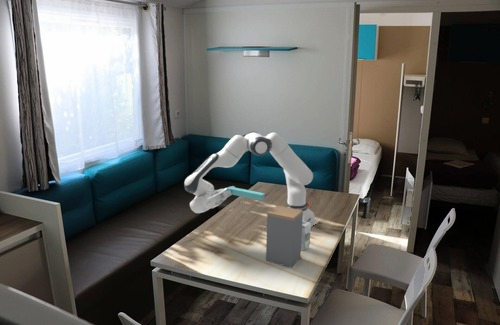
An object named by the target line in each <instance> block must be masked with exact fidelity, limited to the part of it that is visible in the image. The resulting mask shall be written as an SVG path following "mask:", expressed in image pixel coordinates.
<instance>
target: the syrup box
mask: <svg viewBox="0 0 500 325" xmlns="http://www.w3.org/2000/svg"><path fill="white" fill-rule="evenodd" d="M311 228H312V227H311V223H309V222H306V221H302V240H301V251H302V252H303V251H306V250H307V249H309V248H310V242H311Z"/></svg>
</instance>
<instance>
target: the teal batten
mask: <svg viewBox="0 0 500 325" xmlns="http://www.w3.org/2000/svg"><path fill="white" fill-rule="evenodd" d="M226 188H227V191H229V190H232V193H231V194H232V195H233V196H237V197H241V198H242V197H243V198H248V199H253V200H256V201H264V200H265V199H266V198H265V196H266V194H265V193H264V192H259V191H254V190H249V189H245V188H239V187H235V188H234V187H231V186H228V187H226ZM232 195H231V196H232Z"/></svg>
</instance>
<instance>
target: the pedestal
mask: <svg viewBox="0 0 500 325" xmlns="http://www.w3.org/2000/svg"><path fill="white" fill-rule="evenodd" d="M266 217H267V218H266V246H265V248H266V249H265V251H266V252H265V256H266V257H265V261H266V262H270V263H274V264H277V265H282V266H285V267H288V268H293V266H294V265H295V264H296V263H297V262H298V261H299V260H300V259H301V258H302V250H301V240H302V219H303V210H299V209H294V208H289V207H286V206H282V205H276V206H274V207H273V208H272V209H270V210H269V211H267V214H266Z"/></svg>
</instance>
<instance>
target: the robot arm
mask: <svg viewBox="0 0 500 325" xmlns="http://www.w3.org/2000/svg"><path fill="white" fill-rule="evenodd" d="M248 151H249V152H251V153H252V154H253V155H255V156H260V157H261V156H265V155H266V154H267V153H270V155H271V156H272V157H273V158H274V160H275V161H276V162H277V163H278V165H279V166H280V167H281V168H282V169H283V173H284V176H285V182H286V186H287V201H286V205H285V207H289V208H294V209H299V210H303V219H302V221H306V222H309V223H311V228H312V227H313V225H314V226H316V225H317V224H319V220H318V219H316V217H315V213H314V212H313V211H312V210H311V209H310V208H308V207H311V203H310V202H306V200H307V191H306V187H305V186H307V185H309V184H311V182H312V181H313V178H314V173H313V172H312V169H310V168H309V167H308V166H307V164H306V163H305V162H304V161H303V160H302V159H301V158H300V157H299V156H298V155H297V154H296V153H295V151H294V150H293V149H292V148H291V147H290V145H289V144H288V143H287V142H286V140H285V139H284V138H283V137H282V136H281V135H279V134H278V133H276V132H274V131H273V132H270V133H269V134H267V135H262V134H260V133H259V132H257V131H249V132H247V133H245V134H243V135H240V134H236V135H233V137H231V138H230V140H229V141H228V142H227V143H226V144H225V145H224V147H223V148H222V149H221V150H220V151H218V152H216V153H213V154H211V155H210V156H208V157H207V158H206V159H205V160H204V161H203V162H202V164H200V165H199V166H198V167H197V169H195V170H194V171H193V172H192V173H191V174H189V175H187V177H186V178H185V179H184V182H183V186H184V190H185V191H186V192H188V193H190V194H193V195H195V196H194V198H193V199H192V200H191V201H190V202H189V207H190V210H191V211H192V212H193V213H195V214H201V213H205V212H207V211H209V210H210V209H214V208H216V207H219V206H220V205H221V204H222V203H223V202H224V201H226V200H227V198H229V197H230V196H232V194H231V193H232V190H229V191H227V188H228V187H225V188H219V189H215V186H214V184H212V183H211V182H210V181H207V180H205V179H203V177H204V176H206V175H207V173H209V171H210V170H212V169H214V168H218V167H219V168H232V167H234V166H235V165H237V163H238V162H239V160H240V159H241V158H242V156H243V155H244V154H245V153H246V152H248ZM230 187H234V188H236V186H234V185H232V186H230ZM315 224H316V225H315Z"/></svg>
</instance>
